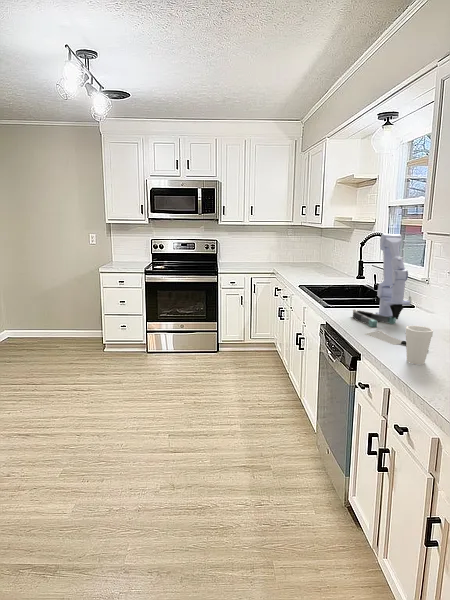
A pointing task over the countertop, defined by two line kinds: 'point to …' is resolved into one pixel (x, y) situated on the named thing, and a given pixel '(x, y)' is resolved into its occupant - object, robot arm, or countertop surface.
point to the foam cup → (417, 343)
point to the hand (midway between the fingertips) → (395, 318)
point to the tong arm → (377, 317)
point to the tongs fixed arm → (365, 319)
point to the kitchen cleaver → (386, 338)
